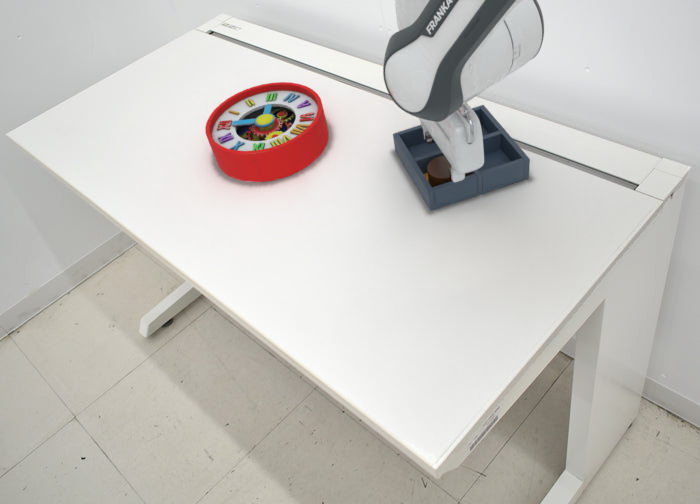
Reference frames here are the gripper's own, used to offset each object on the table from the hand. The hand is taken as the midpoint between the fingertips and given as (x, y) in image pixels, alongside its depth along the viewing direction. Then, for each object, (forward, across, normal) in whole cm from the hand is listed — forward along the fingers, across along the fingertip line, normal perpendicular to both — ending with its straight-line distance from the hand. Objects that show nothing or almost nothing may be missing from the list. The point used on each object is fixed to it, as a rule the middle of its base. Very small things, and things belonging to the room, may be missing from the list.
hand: (443, 158), depth 87 cm
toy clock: (+5, +24, +22) cm, 33 cm away
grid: (+5, +4, -4) cm, 7 cm away
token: (+4, 0, 0) cm, 4 cm away
